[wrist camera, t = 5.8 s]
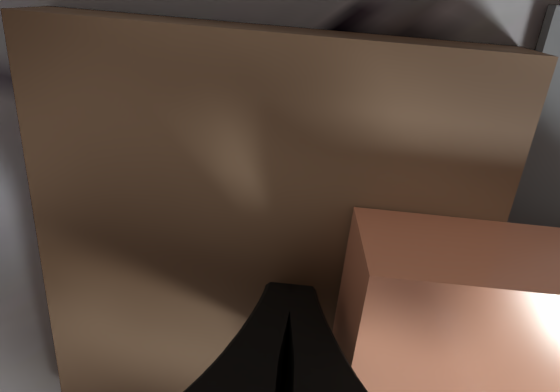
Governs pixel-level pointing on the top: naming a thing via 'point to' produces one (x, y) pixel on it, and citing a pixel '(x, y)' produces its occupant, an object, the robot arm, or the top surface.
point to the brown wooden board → (238, 168)
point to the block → (450, 304)
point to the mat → (543, 145)
